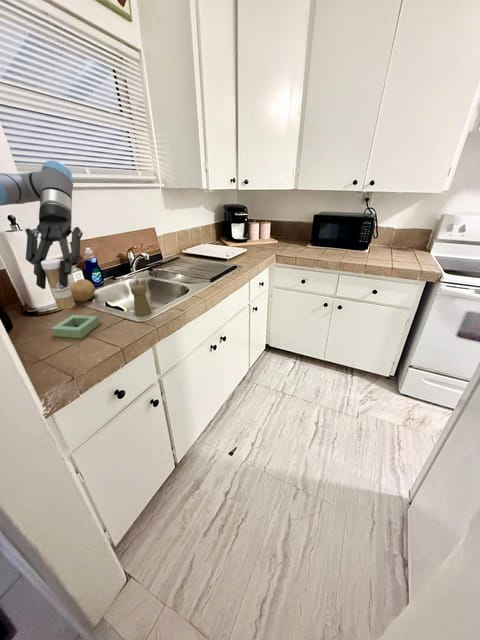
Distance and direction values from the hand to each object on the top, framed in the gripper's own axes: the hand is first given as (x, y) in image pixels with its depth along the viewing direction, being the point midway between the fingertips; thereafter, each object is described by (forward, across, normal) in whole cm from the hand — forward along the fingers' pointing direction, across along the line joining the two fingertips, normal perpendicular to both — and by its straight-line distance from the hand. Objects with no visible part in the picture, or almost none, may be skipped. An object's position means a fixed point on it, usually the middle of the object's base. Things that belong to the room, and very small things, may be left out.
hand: (52, 285), depth 68 cm
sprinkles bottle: (+3, 0, -8) cm, 9 cm away
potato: (-15, +10, -46) cm, 49 cm away
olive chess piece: (-2, -16, -33) cm, 37 cm away
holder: (+5, +4, -26) cm, 26 cm away
